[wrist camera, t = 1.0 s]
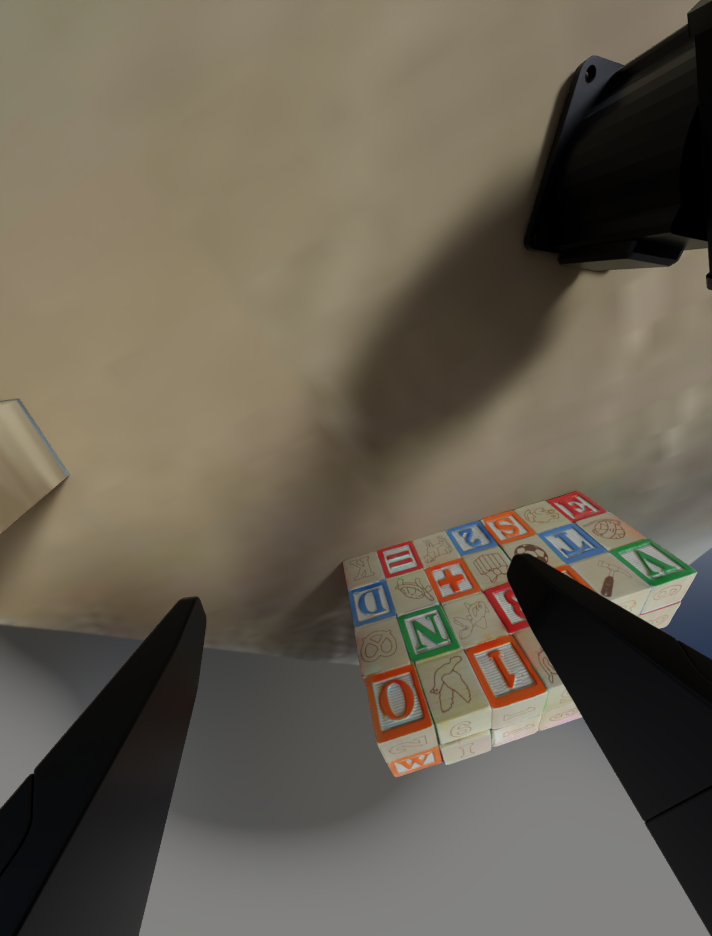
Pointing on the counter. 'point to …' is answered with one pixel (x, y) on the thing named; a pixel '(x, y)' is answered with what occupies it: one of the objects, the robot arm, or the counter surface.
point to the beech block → (24, 463)
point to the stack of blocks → (487, 625)
